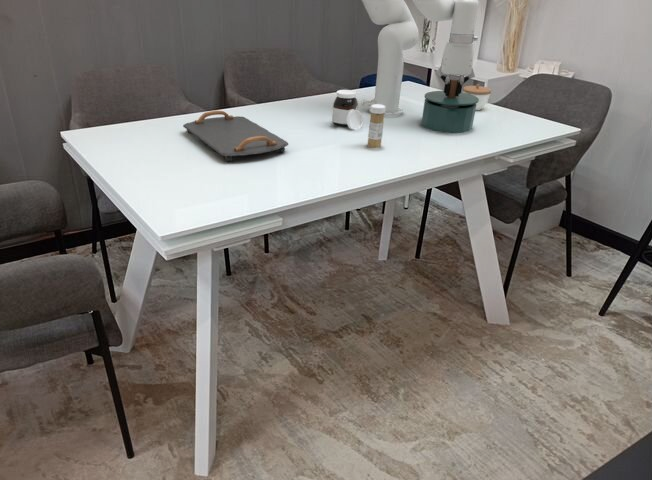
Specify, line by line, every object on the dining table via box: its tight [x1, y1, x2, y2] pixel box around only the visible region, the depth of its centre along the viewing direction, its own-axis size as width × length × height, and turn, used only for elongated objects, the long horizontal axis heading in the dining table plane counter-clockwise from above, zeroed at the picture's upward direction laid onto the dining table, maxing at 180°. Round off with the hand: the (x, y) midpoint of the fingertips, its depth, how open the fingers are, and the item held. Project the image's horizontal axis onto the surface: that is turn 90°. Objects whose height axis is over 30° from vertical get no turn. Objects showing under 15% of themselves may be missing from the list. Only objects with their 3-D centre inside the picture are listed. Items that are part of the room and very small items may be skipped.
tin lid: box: [423, 78, 479, 106], centre depth 191 cm, size 19×19×7 cm
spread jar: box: [331, 89, 364, 131], centre depth 193 cm, size 12×11×12 cm
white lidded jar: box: [462, 83, 492, 111], centre depth 219 cm, size 11×11×9 cm
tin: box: [420, 98, 477, 134], centre depth 196 cm, size 18×23×9 cm
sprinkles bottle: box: [366, 104, 385, 149], centre depth 173 cm, size 5×5×13 cm
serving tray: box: [182, 110, 289, 163], centre depth 176 cm, size 39×23×6 cm, turn 31°
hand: (451, 94), depth 192 cm, fingers closed on tin lid, 3 cm apart
